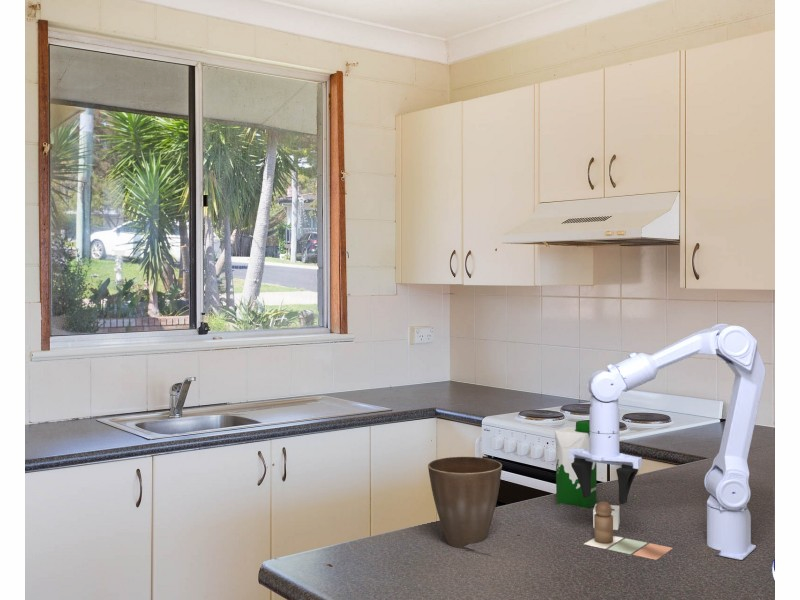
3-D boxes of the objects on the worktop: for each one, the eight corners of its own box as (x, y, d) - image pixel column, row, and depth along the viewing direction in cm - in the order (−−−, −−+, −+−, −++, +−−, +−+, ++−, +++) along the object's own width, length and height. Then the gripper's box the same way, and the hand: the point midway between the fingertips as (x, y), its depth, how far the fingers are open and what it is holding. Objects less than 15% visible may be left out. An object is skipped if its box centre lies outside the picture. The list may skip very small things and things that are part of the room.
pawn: (599, 536, 160) (599, 498, 159) (616, 540, 157) (615, 501, 157) (591, 541, 157) (591, 502, 157) (608, 544, 154) (608, 505, 154)
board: (602, 537, 162) (602, 532, 162) (675, 552, 153) (675, 547, 153) (580, 550, 155) (580, 544, 155) (655, 567, 145) (655, 560, 145)
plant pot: (472, 560, 149) (471, 476, 149) (413, 544, 160) (412, 465, 159) (517, 541, 160) (516, 463, 160) (459, 527, 170) (459, 453, 170)
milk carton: (587, 512, 181) (587, 425, 181) (550, 506, 186) (550, 422, 186) (601, 504, 188) (601, 420, 188) (566, 498, 193) (565, 417, 193)
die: (595, 526, 170) (595, 503, 170) (619, 529, 169) (619, 505, 169) (593, 533, 166) (593, 509, 166) (617, 535, 164) (617, 511, 164)
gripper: (561, 430, 158) (561, 498, 158) (631, 438, 149) (631, 510, 149) (577, 425, 163) (577, 491, 163) (646, 433, 154) (646, 502, 154)
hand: (604, 499), depth 156 cm, fingers open, 7 cm apart
